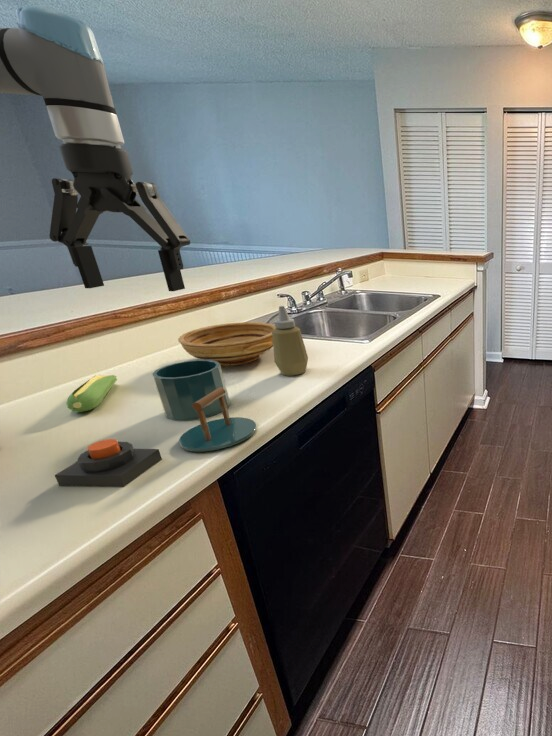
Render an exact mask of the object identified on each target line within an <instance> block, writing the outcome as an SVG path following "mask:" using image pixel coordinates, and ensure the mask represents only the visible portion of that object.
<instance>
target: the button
mask: <svg viewBox="0 0 552 736" xmlns="http://www.w3.org/2000/svg"><path fill="white" fill-rule="evenodd" d="M118 442H119V441H118V439H115V438H108V439H102V440H98V441H95V442H93V443H91V444H89V445H88V447H87V450H88V452H89V454H90V456H91V458H92V459H100V458H105V457H108V456H111V455H114V454H116V453H118V452H119V451H120V450H121V449H120V446H119V444H118Z"/></svg>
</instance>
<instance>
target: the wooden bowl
mask: <svg viewBox="0 0 552 736" xmlns="http://www.w3.org/2000/svg"><path fill="white" fill-rule="evenodd" d="M275 328H276V327H275V324H272V323H267V322H256V321H255V322H253V321H247V322H246V321H243V322H230V323H221V324H214V325H210V326H204V327H200V328H196V329H193V330H190V331H187V332H185V333H183V334H182V335H179V337H178V339H177V341H178V343H180V345H181V347H182V348H183V350H184V351H185V352H186V353H188V355H190V356H192V357H193V358H196V359H198V360H213V361H217V362H219V363H220V366H237V365H239V366H240V365H244V364H248V363H251V362H254V361H256V360H258V359H259V358H260V355H262V354H264V353H266V352H267V351H270V350H271V349H272V348H273V337H272V331H273V330H274V329H275Z"/></svg>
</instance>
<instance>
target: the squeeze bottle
mask: <svg viewBox="0 0 552 736" xmlns="http://www.w3.org/2000/svg"><path fill="white" fill-rule="evenodd" d="M273 325H275V327H276V328H275V329H274V330H273V331H272V337H273V347H272V348H273V360H274V364H275V366H276V367H277V369H278V370H279V372H280V373H281V375H282V376H287V377H291V376H298V375H299V376H300V375H301V374H304V373H305V372H307V367H308V366H307V365H308V360H309V355H308V352H307V349H306V346H305V342H304V339H303V335H302V331H301V328H299V327H298V326H296V321H295V319H294V318H290V316H289V314H288V312H287V310H286V307H285V306H284V305H279V306H278V318H277V319H276V320H274V321H273Z"/></svg>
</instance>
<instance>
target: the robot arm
mask: <svg viewBox="0 0 552 736" xmlns="http://www.w3.org/2000/svg"><path fill="white" fill-rule="evenodd" d="M15 16H16V20H17V22H16V25H17V27H0V94H10V95H31V96H39V97H42V99H43V101H44V104H45V107H46V110H47V113H48V117H49V120H50V124H51V127H52V130H53V133H54V136H55V138H56V139H58V140H61V141H62V143H60V144H59V145H58V148H59V151H60V153H61V157H62V160H63V164H64V166H65V169H66V170H67V171H68V172H70V173H71V174H72V176H73V179H69V178H57V177H55V178H52V179H51V184H52V189H53V194H54V196H53V204H52V212H51V221H50V229H49V234H48V235H49V239H50V240H51V241H52V242H58V243H61V244H63V245H64V246H66V248H67V250H68V252H69V256H70V259H71V261H72V264H73V266H75V267H77V269H78V272H79V274H80V275H79V276H80V277H81V280H82V283H83V286H84V288H85V289H94V288H99V287H104V286H105V283H104V281H103V277H102V274H101V271H100V268H99V264H98V262H97V259H96V256H95V253H94V249H93V246H92V245H89V242H87V240H88V238H89V237H90V234H91V232H92V230H93V229H94V226H95V225H96V222H97V221H98V219H99V217H100V215H101V214H103V213H122V214H124V215H125V216H127V217H129V218H130V219H131V220H133V221H134V222H135V224H137V225H138V226H139V227H140V228H141V230H143V231H144V232H145V233H146V234H147V235H148V236H149V237H150V238H151V239H153V240H154V241H155V243H157V244H158V245H159V246H160V248H159V249H158V250H157V253H158V257H159V259H160V264H161V267H162V271H163V275H164V278H165V282H166V285H167V290H168V292H177V291H182V290H185V289H186V287H185V283H184V279H183V275H182V271H181V270H183V269H184V263H183V259H182V255H181V248H183V247H185V246H190V245H191V243H192V242H191V240H190V237H188V235H187V234H186V232H185V231H184V230H183V228H182V226H181V225H180V224H179V223H178V221H177V220H176V218H175V217H174V216H173V214H172V213H171V211H170V210H169V208H168V207H167V206H166V204H165V203H164V202H163V200H162V198H161V196H160V193H159V190H158V188H157V186H156V184H155V183H154V182H147V181H137V182H136V183H135V182H134V181H133V179H132V175H133V174H134V171H133V167H132V164H131V160H130V157H129V152H128V151H126V149H124V148H122V146H124V145H125V144H126V143H125V139H124V135H123V132H122V129H121V125H120V121H119V118H118V115H117V111H116V108H115V105H114V101H113V96H112V93H111V89H110V85H109V82H108V81H109V80H108V77H107V73H106V68H105V61H104V60H103V57H102V54H101V52H100V49H99V46H98V43H97V40H96V37H95V33H94V32H93V30H92V29H91V28H90V26H89V25H87V24H86V23H85V22H84V21H82V20H80V19H79V18H76V17H74V16H73V15H70V14H68V13H64V12H62V11H61V12H60V11H57V10H54V9H49V8H46V7H39V6H31V5H30V6H29V5H26V6H22V7H21V6H20V7H18V8H16V10H15ZM78 195H80V197H78ZM137 197H139V198H140V200H141V202H142V203H143V204H142V203H141V202H140V201H139V200H138V199H137ZM147 210H148V211H147Z"/></svg>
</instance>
